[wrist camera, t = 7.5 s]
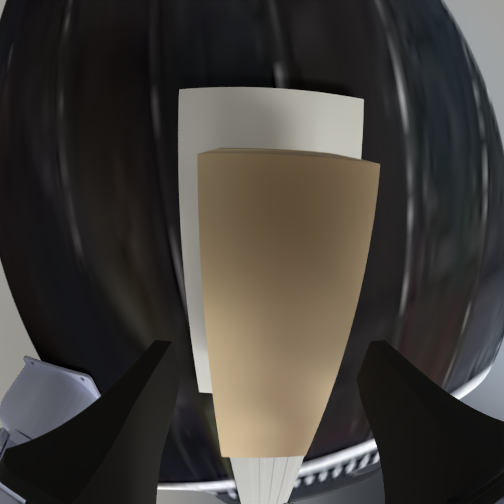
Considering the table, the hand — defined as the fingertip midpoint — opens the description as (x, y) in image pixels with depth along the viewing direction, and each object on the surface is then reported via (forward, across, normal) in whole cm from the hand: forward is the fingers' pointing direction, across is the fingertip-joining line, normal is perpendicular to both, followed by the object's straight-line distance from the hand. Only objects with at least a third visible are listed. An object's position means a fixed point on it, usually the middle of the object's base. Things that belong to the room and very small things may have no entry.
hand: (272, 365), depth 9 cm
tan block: (+4, 0, 0) cm, 4 cm away
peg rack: (+7, 0, 0) cm, 7 cm away
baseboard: (+8, -3, +34) cm, 36 cm away
